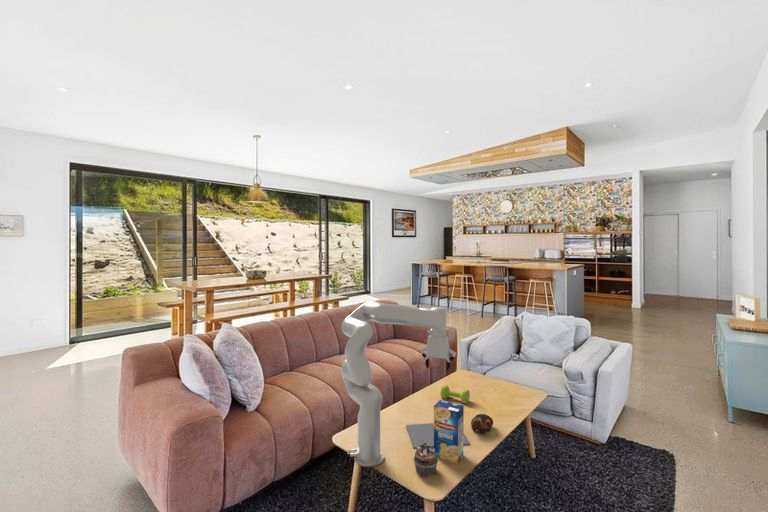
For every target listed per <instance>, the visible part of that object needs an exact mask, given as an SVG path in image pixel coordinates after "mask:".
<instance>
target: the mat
mask: <svg viewBox="0 0 768 512" xmlns="http://www.w3.org/2000/svg"><path fill="white" fill-rule="evenodd" d="M405 428H406V431H407V434H408V437H409V440H410V442H411V445H412V449H415V450H417V447H418V446H419V445H422V444H424V443H427V444H428V445H429V446H430V447H433V448H434V422H430V423H414V424H406V425H405ZM463 446H471V443H470V441H469V439H468V438H467V436H466V434H465V433H464V436H463Z"/></svg>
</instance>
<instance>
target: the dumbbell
mask: <svg viewBox="0 0 768 512" xmlns="http://www.w3.org/2000/svg"><path fill="white" fill-rule="evenodd" d="M439 394H440V397H441V399H442V400H446V399H447V398H448V397H454V398H458V399H460V400H461V403H463V404H464V405H467V404H469V401H470V398H471V393H470V390H469V389H466V388H465V389H463V390H462V391H461V392H460V391H455V390H451V389H450V387H449V385H448V384H443V385H442V386H441V388H440V392H439Z"/></svg>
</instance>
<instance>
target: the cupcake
mask: <svg viewBox="0 0 768 512" xmlns="http://www.w3.org/2000/svg"><path fill="white" fill-rule="evenodd" d="M413 461H414V462H413V463H414V466H415V473H416V475H418V476H420V477H424V478H431V477H433V476H435V474H436V471H437V465H438V461H439V459H438V457H437V456H436V454H435V449H434V447H430V446H429V445H428V444H427V443H424V444H422V445H419V446H418V447H417V449H415V452H414V457H413Z"/></svg>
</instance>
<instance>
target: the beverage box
mask: <svg viewBox="0 0 768 512" xmlns="http://www.w3.org/2000/svg"><path fill="white" fill-rule="evenodd" d="M464 405H465V404H464ZM464 405H463V404H458V403H455V402H451V401H448V400H447V401H446V400H444V399H439V400H438V401H437V402H436V403H435V404H434V405H433V423H434V447H433V448H434V449H435V454H436V456H437V458H438V457H439V459H442V460H445V461H448V462H452V463H453V464H454V463H455V464H456V465H457V464H460V463H459V462H461V459H462V458H463V457H464V445H463V436H464V434H465V433H464V430H465V429H464V422H465V419H464V417H465V416H464V414H465V413H464V410H465V406H464Z"/></svg>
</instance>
